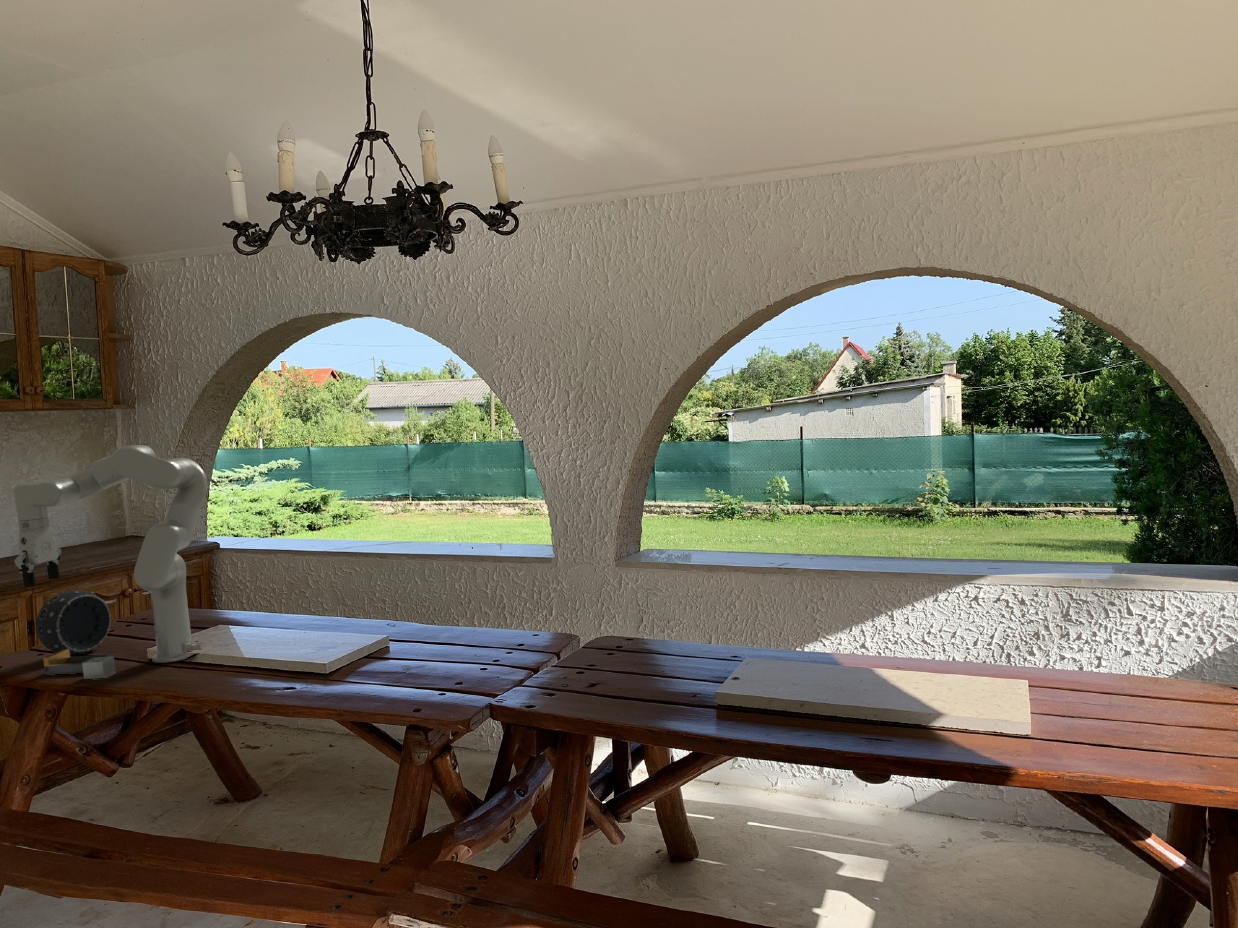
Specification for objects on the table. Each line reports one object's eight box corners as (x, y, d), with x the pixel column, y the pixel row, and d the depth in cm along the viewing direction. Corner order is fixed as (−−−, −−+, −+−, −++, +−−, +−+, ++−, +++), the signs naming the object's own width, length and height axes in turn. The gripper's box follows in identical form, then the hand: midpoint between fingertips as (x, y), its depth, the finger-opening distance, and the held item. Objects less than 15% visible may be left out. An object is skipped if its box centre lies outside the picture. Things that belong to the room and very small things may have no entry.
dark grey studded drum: (119, 645, 288) (111, 584, 286) (57, 664, 270) (49, 599, 268) (97, 643, 293) (89, 583, 291) (35, 662, 275) (26, 598, 273)
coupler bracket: (111, 663, 266) (109, 646, 266) (91, 673, 257) (89, 655, 257) (66, 665, 268) (64, 648, 267) (45, 675, 259) (43, 658, 258)
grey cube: (115, 673, 256) (113, 656, 255) (104, 679, 251) (102, 661, 250) (93, 674, 256) (91, 657, 256) (82, 680, 251) (80, 662, 251)
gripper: (23, 528, 254) (32, 588, 255) (66, 519, 271) (74, 575, 272) (-1, 530, 255) (8, 589, 256) (43, 521, 272) (51, 576, 273)
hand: (42, 582), depth 264 cm, fingers open, 9 cm apart
